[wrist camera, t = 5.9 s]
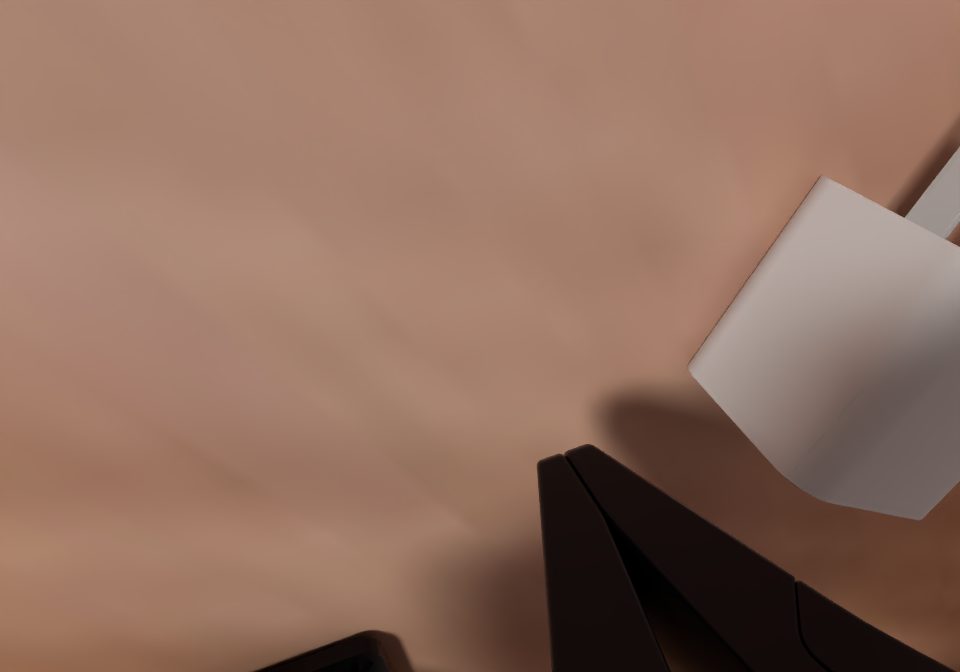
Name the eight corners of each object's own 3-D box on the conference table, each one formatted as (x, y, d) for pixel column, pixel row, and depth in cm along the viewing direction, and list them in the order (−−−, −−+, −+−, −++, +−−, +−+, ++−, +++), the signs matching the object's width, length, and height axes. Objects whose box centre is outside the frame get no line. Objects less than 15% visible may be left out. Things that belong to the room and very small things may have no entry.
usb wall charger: (674, 356, 14) (801, 497, 11) (903, 24, 11) (1160, 85, 8) (799, 393, 16) (937, 524, 13) (1021, 116, 13) (1269, 194, 10)
